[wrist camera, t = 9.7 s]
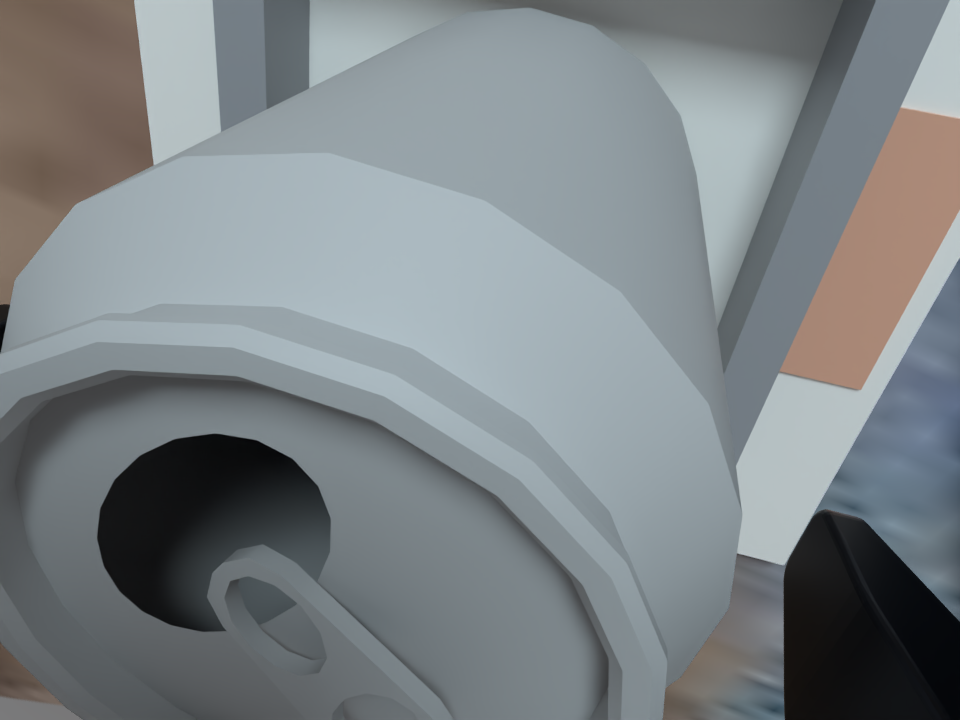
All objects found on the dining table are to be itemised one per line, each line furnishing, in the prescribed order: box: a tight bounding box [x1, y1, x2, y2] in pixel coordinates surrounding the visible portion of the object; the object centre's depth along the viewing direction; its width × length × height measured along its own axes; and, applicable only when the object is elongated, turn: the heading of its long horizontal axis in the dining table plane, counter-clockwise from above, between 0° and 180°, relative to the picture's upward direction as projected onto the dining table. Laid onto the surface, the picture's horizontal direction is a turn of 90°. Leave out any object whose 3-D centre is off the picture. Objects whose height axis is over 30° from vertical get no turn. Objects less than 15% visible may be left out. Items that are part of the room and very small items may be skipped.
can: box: [0, 8, 742, 720], centre depth 11 cm, size 8×8×12 cm
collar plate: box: [134, 0, 960, 565], centre depth 15 cm, size 18×18×3 cm
